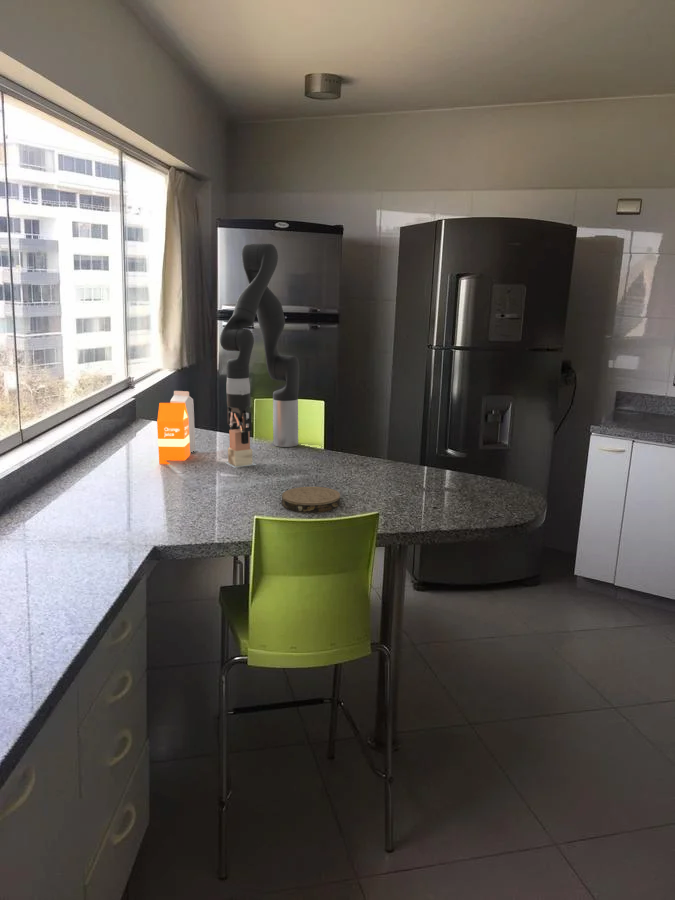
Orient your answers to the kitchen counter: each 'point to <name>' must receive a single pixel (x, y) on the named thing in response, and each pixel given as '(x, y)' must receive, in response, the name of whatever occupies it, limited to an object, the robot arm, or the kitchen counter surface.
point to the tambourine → (311, 499)
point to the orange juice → (173, 432)
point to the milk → (185, 398)
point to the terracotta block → (238, 440)
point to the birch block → (240, 457)
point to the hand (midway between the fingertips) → (239, 441)
